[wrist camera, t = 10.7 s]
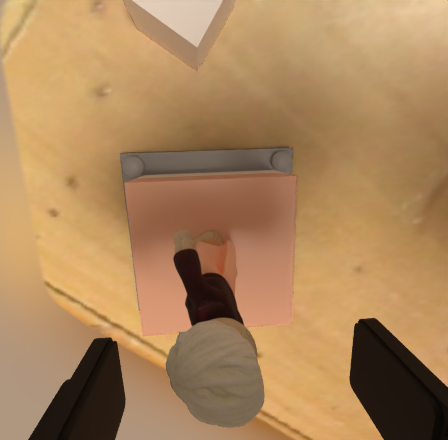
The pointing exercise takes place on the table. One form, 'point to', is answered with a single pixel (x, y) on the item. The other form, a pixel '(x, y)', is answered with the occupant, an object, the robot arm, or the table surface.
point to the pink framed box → (212, 228)
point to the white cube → (181, 25)
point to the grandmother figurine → (213, 337)
